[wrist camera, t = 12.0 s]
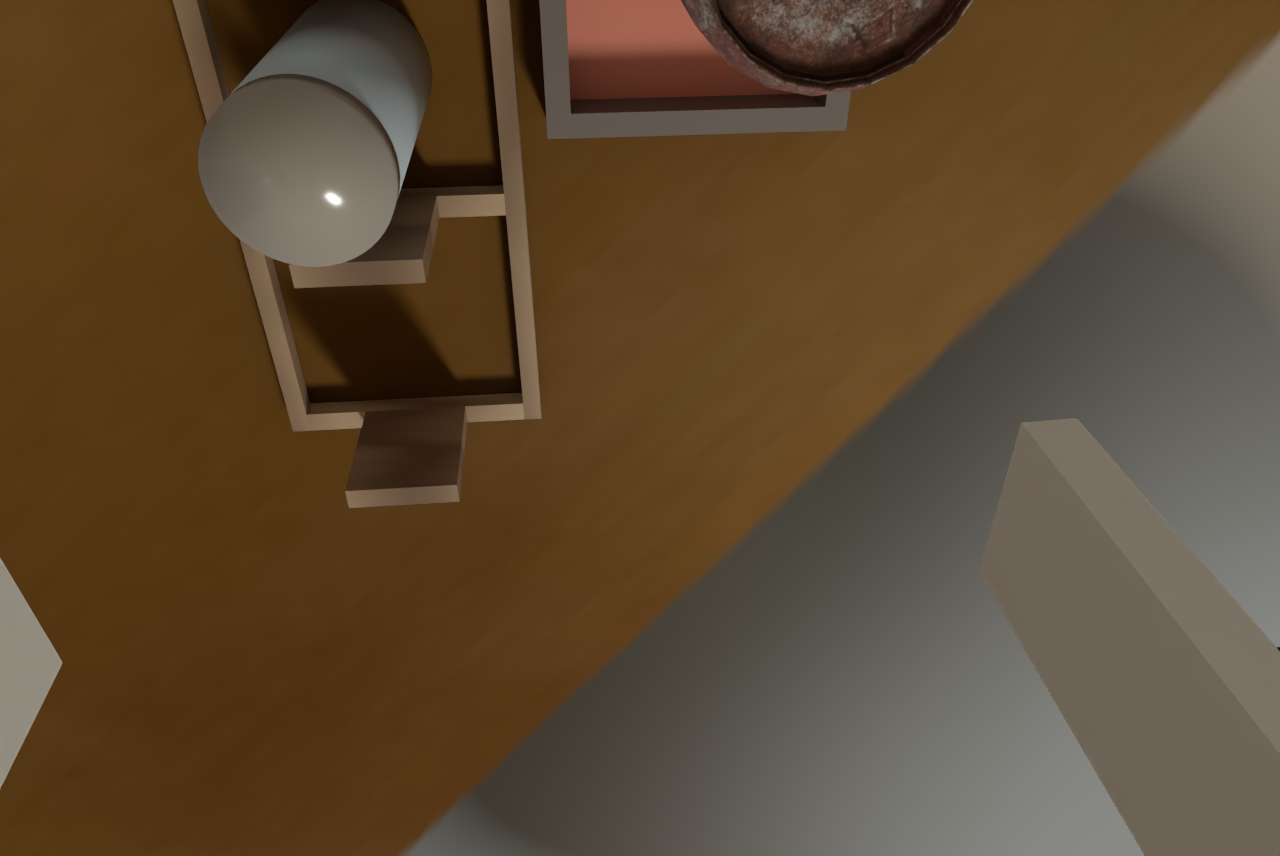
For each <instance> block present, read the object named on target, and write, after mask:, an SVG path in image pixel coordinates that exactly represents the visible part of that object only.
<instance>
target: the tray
mask: <svg viewBox="0 0 1280 856" xmlns="http://www.w3.org/2000/svg"><path fill="white" fill-rule="evenodd" d="M539 3H540V20H541V37H542V54H543V71H544V88H545V105H546V121H547V138H548V139H569V138H602V137H636V136H670V135H703V134H737V133H771V132H804V131H838V130H846V125H847V118H848V111H849V103H850V96H851V91H846V92H839V93H832V94H825V95H819V96H809V95H803V94H798V93H792V92H787V91H781V90H776V89H771V88H767V87H765V86H764V85H762V84H760V83H759V82H757V81H755V80H753V79H752V78H750V77H748V76H747V75H745V74H743V73H741V72H740V71H738V70H736V69H735V68H733V67H731V66H729V65H728V64H727V63H726V62H725V61H724V59H723V58H722V57H721V56H720V55H719V53H718V52H717V51H716V50H715V49H714V47H713V46H712V45H711V44H710V43H709V41H708V40H707V39H706V38H705V37H704V35H703V34H702V33H701V32H700V31H699V30H698V28H697V27H696V26H695V24H694V22H693V20H692V19H691V17H690V15H689V14H688V12H687V10H686V9H685V7H684V5H683V4H682V2H681V0H539Z"/></svg>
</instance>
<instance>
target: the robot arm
mask: <svg viewBox="0 0 1280 856" xmlns="http://www.w3.org/2000/svg"><path fill="white" fill-rule="evenodd" d="M979 573H980V574H981V576H982V578H983V579H984V581H985V583H986V585H987V586H988V588H989V590H990V591H991V593H992V595H993V596H994V598H995V600H996V602H997V603H998V605H999V607H1000V608H1001V610H1002V612H1003V614H1004V615H1005V617H1006V619H1007V621H1008V622H1009V624H1010V626H1011V627H1012V629H1013V631H1014V633H1015V634H1016V636H1017V638H1018V639H1019V641H1020V643H1021V644H1022V646H1023V648H1024V650H1025V651H1026V653H1027V654H1028V656H1029V658H1030V660H1031V662H1032V663H1033V665H1034V667H1035V668H1036V670H1037V672H1038V674H1039V675H1040V677H1041V679H1042V681H1043V682H1044V684H1045V686H1046V687H1047V689H1048V691H1049V693H1050V694H1051V696H1052V698H1053V699H1054V701H1055V703H1056V704H1057V706H1058V708H1059V710H1060V711H1061V713H1062V715H1063V716H1064V718H1065V720H1066V722H1067V723H1068V725H1069V727H1070V729H1071V730H1072V732H1073V734H1074V735H1075V737H1076V739H1077V740H1078V742H1079V744H1080V746H1081V747H1082V749H1083V751H1084V752H1085V754H1086V756H1087V757H1088V759H1089V761H1090V763H1091V764H1092V766H1093V768H1094V770H1095V771H1096V773H1097V775H1098V776H1099V778H1100V780H1101V782H1102V783H1103V785H1104V787H1105V788H1106V790H1107V792H1108V794H1109V795H1110V797H1111V799H1112V800H1113V802H1114V804H1115V806H1116V807H1117V809H1118V811H1119V812H1120V814H1121V816H1122V817H1123V819H1124V821H1125V823H1126V824H1127V826H1128V828H1129V830H1130V831H1131V833H1132V834H1133V836H1134V838H1135V840H1136V842H1137V843H1138V845H1139V847H1140V848H1141V850H1142V852H1143V853H1144V855H1145V856H1280V647H1277V648H1276V647H1275V645H1274V644H1273V643H1272V642H1271V641H1270V640H1269V639H1268V637H1267V636H1266V635H1265V634H1264V633H1263V632H1262V630H1261V629H1260V628H1259V627H1258V626H1257V625H1256V624H1255V622H1254V621H1253V620H1252V619H1251V618H1250V617H1249V616H1248V614H1247V613H1246V612H1245V611H1244V610H1243V609H1242V607H1241V606H1240V605H1239V604H1238V603H1237V602H1236V601H1235V599H1234V598H1233V597H1232V596H1231V595H1230V594H1229V592H1227V590H1226V589H1225V588H1224V587H1223V586H1222V584H1221V583H1220V582H1219V581H1218V580H1217V579H1216V578H1215V576H1214V575H1213V574H1212V573H1211V572H1210V571H1209V570H1208V568H1207V567H1206V566H1205V565H1204V564H1203V563H1202V562H1201V560H1200V559H1199V558H1198V557H1197V556H1196V555H1195V553H1194V552H1193V551H1192V550H1191V549H1190V548H1189V547H1188V545H1187V544H1186V543H1185V542H1184V541H1183V540H1182V539H1181V537H1180V536H1179V535H1178V534H1177V533H1176V532H1175V530H1174V529H1173V528H1172V527H1171V526H1170V525H1169V524H1168V523H1167V521H1166V520H1165V519H1164V518H1163V517H1162V515H1161V514H1160V513H1159V512H1158V511H1157V510H1156V509H1155V507H1153V505H1152V504H1151V503H1150V502H1149V501H1148V500H1147V498H1146V497H1145V496H1144V495H1143V494H1142V493H1141V491H1140V490H1139V489H1138V488H1137V487H1136V486H1135V484H1134V483H1133V482H1132V481H1131V480H1130V479H1129V478H1128V477H1127V475H1126V474H1125V473H1124V472H1123V471H1122V470H1121V468H1120V467H1119V466H1118V465H1117V464H1116V463H1115V462H1114V461H1113V459H1112V458H1111V457H1110V456H1109V455H1108V454H1107V452H1106V451H1105V450H1104V449H1103V448H1102V447H1101V446H1100V444H1099V443H1098V442H1097V441H1096V440H1095V439H1094V437H1093V436H1092V435H1091V434H1090V433H1089V432H1088V431H1087V430H1086V428H1085V427H1084V426H1083V425H1082V424H1081V422H1080V421H1079V420H1078V419H1077V418H1073V419H1061V420H1049V421H1039V422H1026V423H1021V427H1020V430H1019V433H1018V437H1017V441H1016V444H1015V448H1014V451H1013V455H1012V458H1011V462H1010V465H1009V469H1008V472H1007V476H1006V479H1005V483H1004V486H1003V490H1002V494H1001V497H1000V500H999V504H998V507H997V511H996V515H995V518H994V522H993V525H992V529H991V532H990V536H989V539H988V543H987V546H986V550H985V554H984V557H983V560H982V564H981V567H980V572H979ZM61 665H62V661H61V659H60V658H59V656H58V654H57V653H56V651H55V649H54V647H53V646H52V644H51V642H50V641H49V639H48V637H47V636H46V634H45V632H44V631H43V629H42V627H41V626H40V624H39V622H38V621H37V619H36V617H35V616H34V614H33V612H32V610H31V609H30V607H29V605H28V604H27V602H26V600H25V599H24V597H23V595H22V594H21V592H20V590H19V589H18V587H17V585H16V584H15V582H14V580H13V579H12V577H11V575H10V573H9V572H8V570H7V568H6V567H5V565H4V563H3V562H2V560H1V558H0V788H1V786H2V784H3V782H4V780H5V778H6V776H7V774H8V772H9V770H10V768H11V766H12V764H13V762H14V760H15V758H16V756H17V754H18V752H19V750H20V748H21V746H22V744H23V742H24V740H25V738H26V736H27V734H28V732H29V730H30V728H31V726H32V724H33V722H34V720H35V718H36V716H37V714H38V712H39V710H40V708H41V705H42V703H43V701H44V699H45V697H46V695H47V693H48V691H49V689H50V687H51V685H52V683H53V681H54V679H55V677H56V675H57V673H58V671H59V669H60V667H61Z"/></svg>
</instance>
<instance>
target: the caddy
mask: <svg viewBox="0 0 1280 856" xmlns="http://www.w3.org/2000/svg"><path fill="white" fill-rule="evenodd" d="M486 1H487V12H488V23H489V34H490V45H491V56H492V67H493V78H494V89H495V100H496V111H497V122H498V133H499V144H500V155H501V166H502V177H503V185H498V186H468V187H438V188H408V189H401V190H400V193H399V197H398V200H397V203H396V206H395V209H394V213H393V215H392V218H391V221H390V223H389V225H388V227H387V229H386V231H385V232H384V234H383V235H382V236H381V238H380V239H379V240H378V241H377V242H376V243H375V244H374V245H373V246H372V247H371V248H370V249H368V250H367V251H366V252H364V253H363V254H361V255H359V256H358V257H356V258H354V259H352V260H349V261H346V262H343V263H340V264H336V265H331V266H322V267H306V266H299V265H293V264H289V268H290V272H291V276H292V280H293V284H294V288H313V287H337V286H361V285H386V284H410V283H426V280H427V275H428V271H429V266H430V261H431V256H432V251H433V246H434V242H435V237H436V232H437V227H438V222H439V218H444V217H472V216H500V215H506V221H507V232H508V243H509V254H510V265H511V276H512V287H513V298H514V309H515V320H516V331H517V342H518V353H519V364H520V375H521V386H522V393H506V394H486V395H466V396H446V397H426V398H407V399H387V400H367V401H347V402H327V403H310V400H309V396H308V392H307V388H306V384H305V381H304V377H303V373H302V369H301V365H300V361H299V358H298V354H297V350H296V346H295V342H294V338H293V334H292V331H291V327H290V323H289V319H288V315H287V311H286V307H285V304H284V300H283V296H282V292H281V288H280V284H279V281H278V277H277V273H276V269H275V265H274V261H273V258H270V257H268V256H266V255H264V254H262V253H260V252H258V251H256V250H255V249H253V248H251V247H250V246H248V245H247V244H245V243H244V242H243V241H241V240H240V243H241V247H242V250H243V254H244V257H245V261H246V265H247V268H248V272H249V275H250V279H251V282H252V286H253V290H254V293H255V297H256V300H257V304H258V307H259V311H260V315H261V318H262V322H263V325H264V329H265V332H266V336H267V340H268V343H269V347H270V350H271V354H272V358H273V361H274V365H275V368H276V372H277V375H278V379H279V383H280V386H281V390H282V393H283V397H284V400H285V404H286V408H287V411H288V415H289V418H290V422H291V425H292V429H293V431H312V430H331V429H350V428H361V432H360V436H359V440H358V444H357V447H356V451H355V455H354V459H353V463H352V467H351V471H350V475H349V478H348V482H347V486H346V490H345V493H346V497H347V501H348V505H349V508H357V507H374V506H391V505H408V504H425V503H442V502H459V501H460V491H461V482H462V472H463V462H464V452H465V442H466V432H467V422H483V421H502V420H521V419H540V418H541V396H540V383H539V370H538V357H537V344H536V331H535V318H534V305H533V292H532V279H531V266H530V253H529V240H528V227H527V214H526V201H525V188H524V175H523V162H522V149H521V136H520V123H519V110H518V97H517V84H516V71H515V58H514V45H513V32H512V19H511V6H510V0H486ZM173 3H174V7H175V11H176V14H177V18H178V21H179V25H180V28H181V32H182V36H183V39H184V43H185V46H186V50H187V53H188V57H189V61H190V64H191V68H192V71H193V75H194V79H195V82H196V86H197V89H198V93H199V96H200V100H201V104H202V107H203V111H204V114H205V118H206V121H207V122H208V121H209V119H210V117H211V116H212V114H213V113H214V112H215V111H216V110H217V109H218V107H219V106H220V105H221V104H222V103H223V102H224V101H225V100H226V98H227V97H228V96H229V95H230V92H229V88H228V84H227V80H226V76H225V73H224V69H223V65H222V61H221V57H220V53H219V49H218V46H217V42H216V38H215V34H214V30H213V26H212V23H211V19H210V15H209V11H208V7H207V3H206V0H173Z"/></svg>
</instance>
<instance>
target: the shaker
mask: <svg viewBox="0 0 1280 856" xmlns="http://www.w3.org/2000/svg"><path fill="white" fill-rule="evenodd" d="M431 87H432V67H431V62H430V58H429V54H428V51H427V49H426V46H425V44H424V42H423V40H422V38H421V37H420V35H419V33H418V32H417V30H416V29H415V28H414V26H413V25H412V24H411V23H410V22H409V21H408V20H407V19H406V18H405V17H404V16H403V15H402V14H401V13H400V12H398V11H397V10H396V9H394V8H393V7H391V6H390V5H388V4H386V3H384V2H382V1H380V0H320V1H318V2H316V3H315V4H313V5H312V6H310V7H309V8H308V9H307V10H306V11H305V12H304V13H303V14H302V15H301V16H300V17H299V18H298V19H297V21H296V22H295V23H294V24H293V25H292V26H291V27H290V28H289V29H288V31H287V32H286V33H285V34H284V35H283V36H282V37H281V38H280V40H279V41H278V42H277V43H276V44H275V45H274V46H273V47H272V48H271V50H270V51H269V52H268V53H267V54H266V55H265V56H264V57H263V58H262V60H261V61H260V62H259V63H258V64H257V65H256V66H255V67H254V68H253V70H252V71H251V72H250V73H249V74H248V75H247V76H246V77H245V78H244V80H243V81H242V82H241V83H240V84H239V85H238V86H237V87H236V88H235V90H234V91H233V92H232V93H231V94H230V95H229V96H228V97H227V98H226V100H225V101H224V102H223V103H222V104H221V105H220V106H219V107H218V109H217V110H216V111H215V112H214V113H213V114H212V116H211V117H210V119H209V121H208V122H207V124H206V126H205V128H204V131H203V133H202V136H201V140H200V144H199V151H198V166H199V174H200V179H201V183H202V186H203V189H204V192H205V194H206V197H207V199H208V201H209V203H210V205H211V207H212V208H213V210H214V211H215V213H216V214H217V216H218V217H219V219H220V220H221V221H222V222H223V223H224V224H225V226H226V227H227V228H228V229H229V230H230V231H231V232H232V233H233V234H234V235H235V236H236V237H238V238H239V239H240V240H241V241H243V242H244V243H245V244H247V245H248V246H250V247H251V248H253V249H255V250H256V251H258V252H260V253H262V254H264V255H266V256H268V257H270V258H273V259H275V260H278V261H281V262H285V263H289V264H293V265H299V266H306V267H322V266H331V265H336V264H340V263H343V262H346V261H349V260H352V259H354V258H356V257H358V256H359V255H361V254H363V253H364V252H366V251H367V250H368V249H370V248H371V247H372V246H373V245H374V244H375V243H376V242H377V241H378V240H379V239H380V238H381V236H382V235H383V234H384V232H385V231H386V229H387V227H388V225H389V223H390V221H391V218H392V215H393V213H394V209H395V206H396V203H397V200H398V197H399V193H400V190H401V187H402V184H403V180H404V177H405V174H406V171H407V167H408V164H409V161H410V158H411V155H412V151H413V148H414V145H415V142H416V138H417V135H418V132H419V129H420V125H421V122H422V119H423V116H424V112H425V109H426V106H427V103H428V100H429V96H430V92H431Z"/></svg>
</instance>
